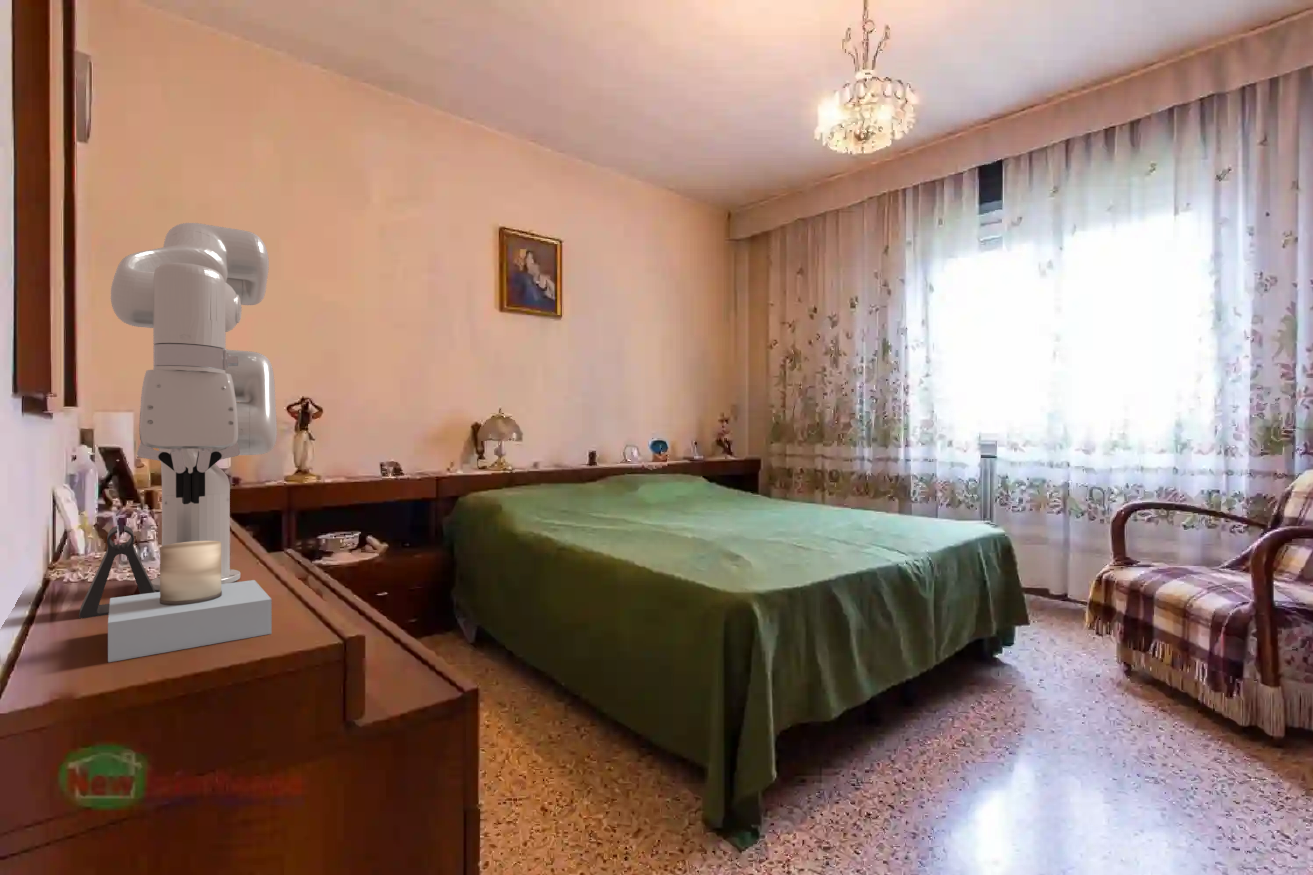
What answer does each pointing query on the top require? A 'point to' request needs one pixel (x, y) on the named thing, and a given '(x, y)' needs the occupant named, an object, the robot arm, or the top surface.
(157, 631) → the gray rectangular block
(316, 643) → the top surface
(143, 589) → the dark grey a-shaped piece
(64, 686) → the top surface
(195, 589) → the beech peg
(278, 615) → the top surface
